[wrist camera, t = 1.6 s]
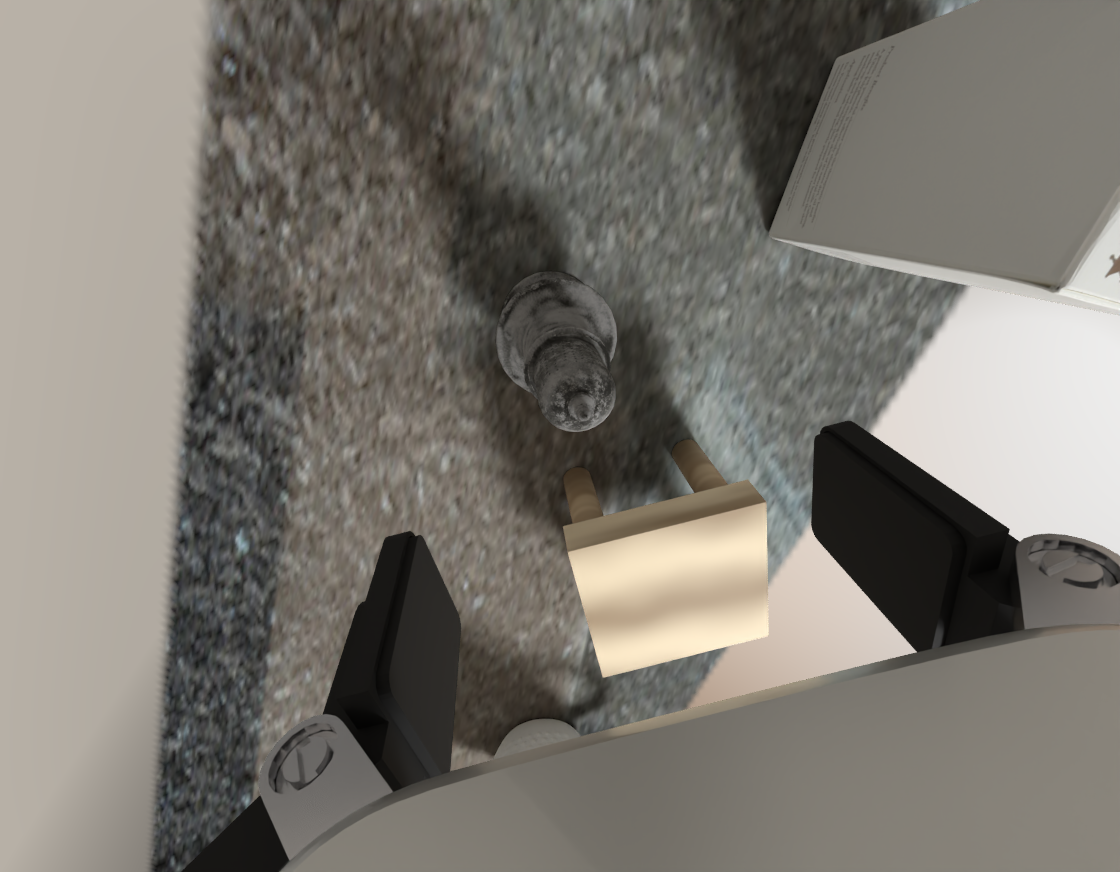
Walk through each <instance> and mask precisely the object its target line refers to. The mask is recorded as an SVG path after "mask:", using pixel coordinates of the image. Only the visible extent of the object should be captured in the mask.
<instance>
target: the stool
mask: <svg viewBox="0 0 1120 872" xmlns="http://www.w3.org/2000/svg"><path fill="white" fill-rule="evenodd" d="M672 457H673V459H674V461H675V462H676V464H677V466H678V467H679V469H680V470H681V472H682V474H683V475H684V477H685V478H686V480H687V482H688V483H689V485H690V486H691V488H692V490H693V491H694V493H693V494H689V495H685V496H681V497H677V498H673V499H669V500H665V501H661V502H657V503H653V504H649V505H645V506H641V507H637V508H634V509H630V510H626V511H622V512H618V513H614V514H610V515H606V516H603V513H602V510H601V507H600V504H599V500H598V497H597V494H596V491H595V488H594V485H593V482H592V478H591V475H590V473H589V471H588V470H586V469H585V468H582V467H575V468H572V469H570V470H568V471H567V472H566V473H565V475H564V478H563V482H564V487H565V491H566V496H567V500H568V505H569V509H570V514H571V518H572V523H573V524H570V525H566V526H563V530H564V535H565V541H566V546H567V551H568V555H569V558H570V562H571V565H572V569H573V573H574V576H575V580H576V583H577V587H578V590H579V594H580V597H581V601H582V605H583V608H584V612H585V615H586V619H587V622H588V626H589V629H590V633H591V636H592V640H593V644H594V647H595V651H596V654H597V658H598V661H599V665H600V668H601V672H602V676H603V678H604V677H608V676H612V675H615V674H619V673H623V672H627V671H631V670H635V669H639V668H643V667H647V666H651V665H655V664H659V663H663V662H667V661H671V660H675V659H679V658H683V657H687V656H691V655H695V654H699V653H703V652H707V651H711V650H715V649H719V648H723V647H727V646H731V645H735V644H739V643H743V642H747V641H750V640H754V639H758V638H762V637H766V636H768V635H769V634H768V633H769V632H768V573H767V515H766V501H765V500H764V499H763V497H762V496H761V495H760V494H759V493H758V491H757V490H756V489H755V488H754V487H753V485H752V484H751V483H750V482H749V480H745V481H741V482H737V483H733V484H729V485H728V484H727V483H726V481H725V480H724V479H723V477H722V476H721V475H720V473H719V472H718V471H717V469H716V468H715V467H714V465H713V464H712V463H711V461H710V460H709V459H708V457H707V456H706V455H705V453H704V452H703V451H702V449H701V448H700V447H699V445H698V444H697V443H696V442H695V441H693V440H690V439H687V440H682V441H680V442H679V443H677V444H676V445H675V446H674V448H673V450H672Z"/></svg>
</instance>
